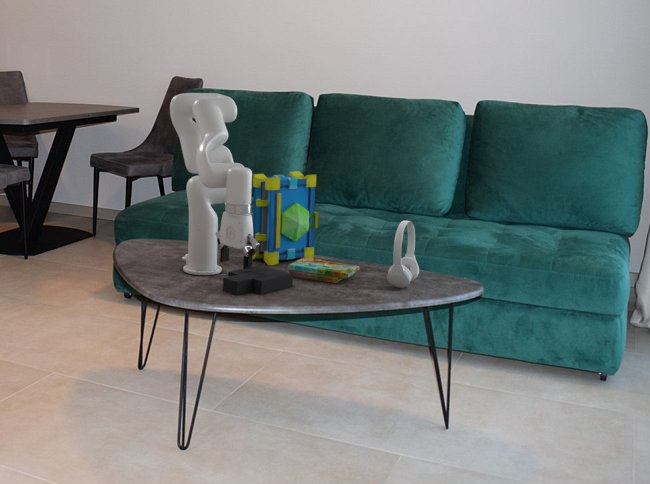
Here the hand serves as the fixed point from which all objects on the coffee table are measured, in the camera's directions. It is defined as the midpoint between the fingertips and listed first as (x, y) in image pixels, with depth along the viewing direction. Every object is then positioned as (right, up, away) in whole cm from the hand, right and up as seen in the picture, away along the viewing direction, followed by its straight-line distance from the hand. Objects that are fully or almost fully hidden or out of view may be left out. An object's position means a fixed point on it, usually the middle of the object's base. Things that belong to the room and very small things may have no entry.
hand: (235, 265), depth 244 cm
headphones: (+53, -8, +11) cm, 54 cm away
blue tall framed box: (+18, -5, +42) cm, 46 cm away
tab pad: (+3, -8, +2) cm, 8 cm away
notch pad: (+8, -7, +7) cm, 13 cm away
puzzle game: (+29, -7, +18) cm, 35 cm away
